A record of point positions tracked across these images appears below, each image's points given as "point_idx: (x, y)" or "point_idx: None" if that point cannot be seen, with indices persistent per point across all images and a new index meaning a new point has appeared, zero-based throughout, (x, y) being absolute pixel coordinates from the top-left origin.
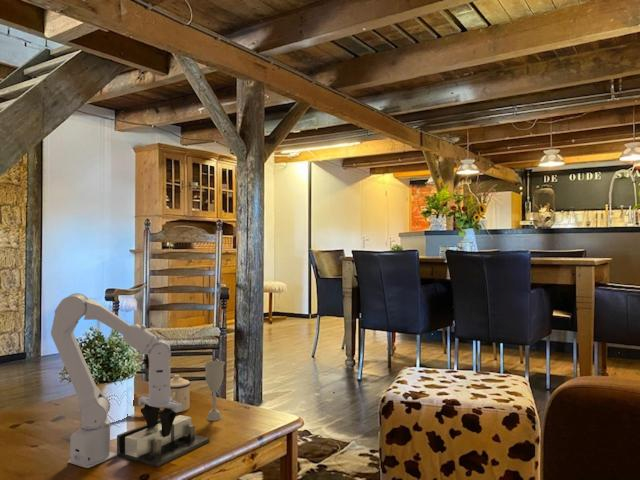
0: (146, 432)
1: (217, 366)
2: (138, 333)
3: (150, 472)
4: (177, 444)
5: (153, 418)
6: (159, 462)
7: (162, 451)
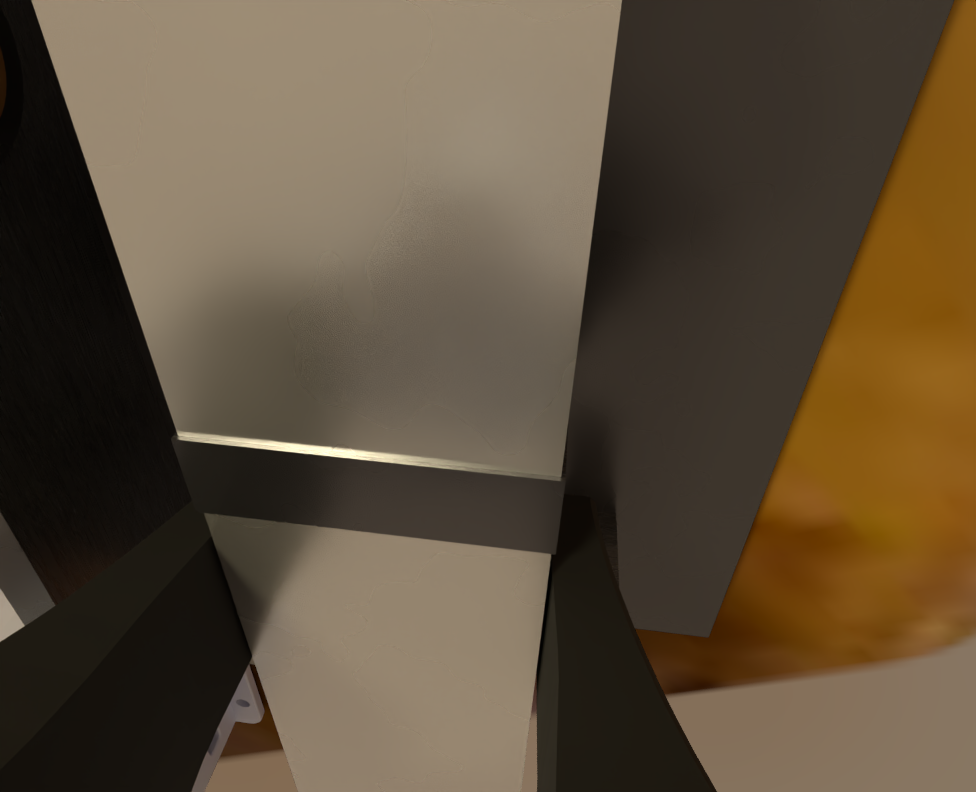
0: (411, 782)
1: None
2: None
3: (707, 669)
4: None
5: (154, 736)
6: (714, 620)
7: None
